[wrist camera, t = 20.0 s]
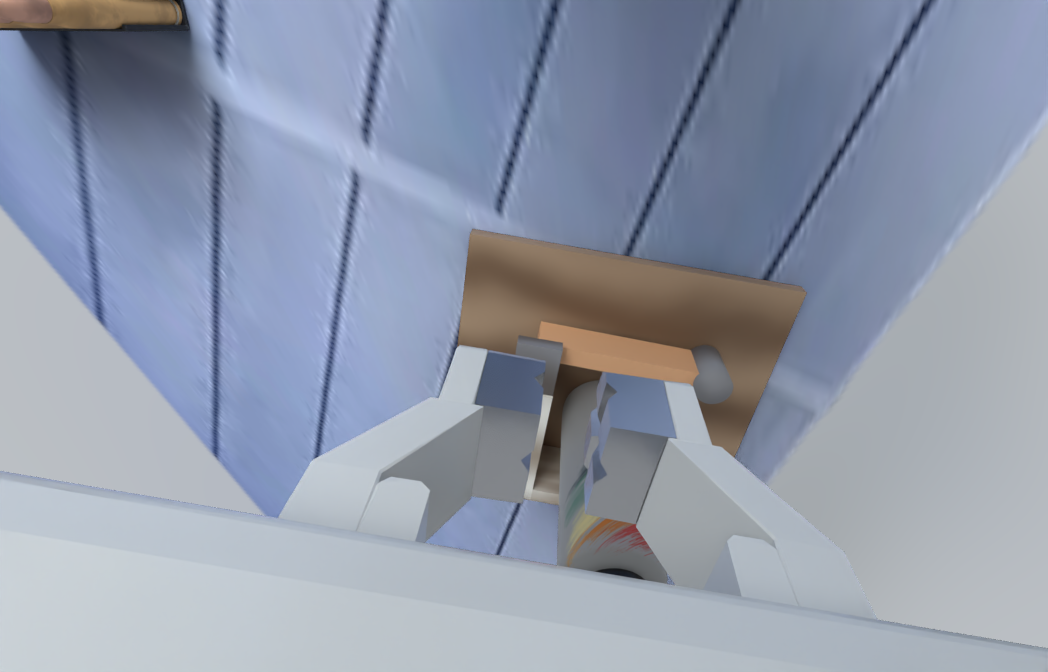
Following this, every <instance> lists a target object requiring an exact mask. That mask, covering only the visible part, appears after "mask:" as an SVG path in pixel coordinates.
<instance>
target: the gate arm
mask: <svg viewBox="0 0 1048 672" xmlns="http://www.w3.org/2000/svg"><path fill="white" fill-rule="evenodd" d="M538 339H544V340H550V341H555V342H561V343H563V352H562V356H561V361H560V363H561V364H566V365H571V366H577V367H582V368H587V369H592V370H598V371H603V372H610V373H616V374H623V375H630V376H637V377H644V378H651V379H657V380H665V381H673V382H680V383H688V384H690V385H692V386H693V387H694V390H695V393H696V397H697V398H698V399H699V400H700V401H701V402H703V403H707V404H717V403H721V402H723V401H725V400H726V399H727V398H728V397H729V396H730V395H731V393H732V391H733V382H732V380H731V378H730V376H729V373H728V371H727V369H726V367H725V364H724V362H723V360H722V357H721V355H720V353H719V351H718V350H717V349H716V348H714V347H712V346H709V345H701V346H697V347H695V348H693V349H692V350H688V349H683V348H678V347H672V346H667V345H662V344H657V343H652V342H646V341H641V340H636V339H631V338H626V337H620V336H615V335H610V334H605V333H600V332H594V331H589V330H584V329H579V328H574V327H568V326H563V325H558V324H553V323H548V322H543V321H541V323H540V328H539V333H538Z"/></svg>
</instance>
